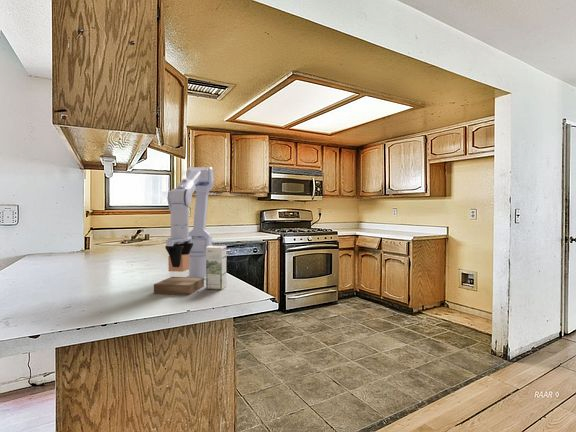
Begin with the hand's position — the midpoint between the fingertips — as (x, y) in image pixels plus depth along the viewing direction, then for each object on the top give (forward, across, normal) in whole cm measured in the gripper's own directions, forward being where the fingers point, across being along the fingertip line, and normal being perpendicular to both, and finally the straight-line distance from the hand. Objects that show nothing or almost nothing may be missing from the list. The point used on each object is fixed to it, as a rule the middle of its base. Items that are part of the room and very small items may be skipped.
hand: (179, 265), depth 112 cm
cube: (+2, 0, 0) cm, 2 cm away
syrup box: (+8, -4, +11) cm, 15 cm away
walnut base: (+8, 0, 0) cm, 8 cm away
